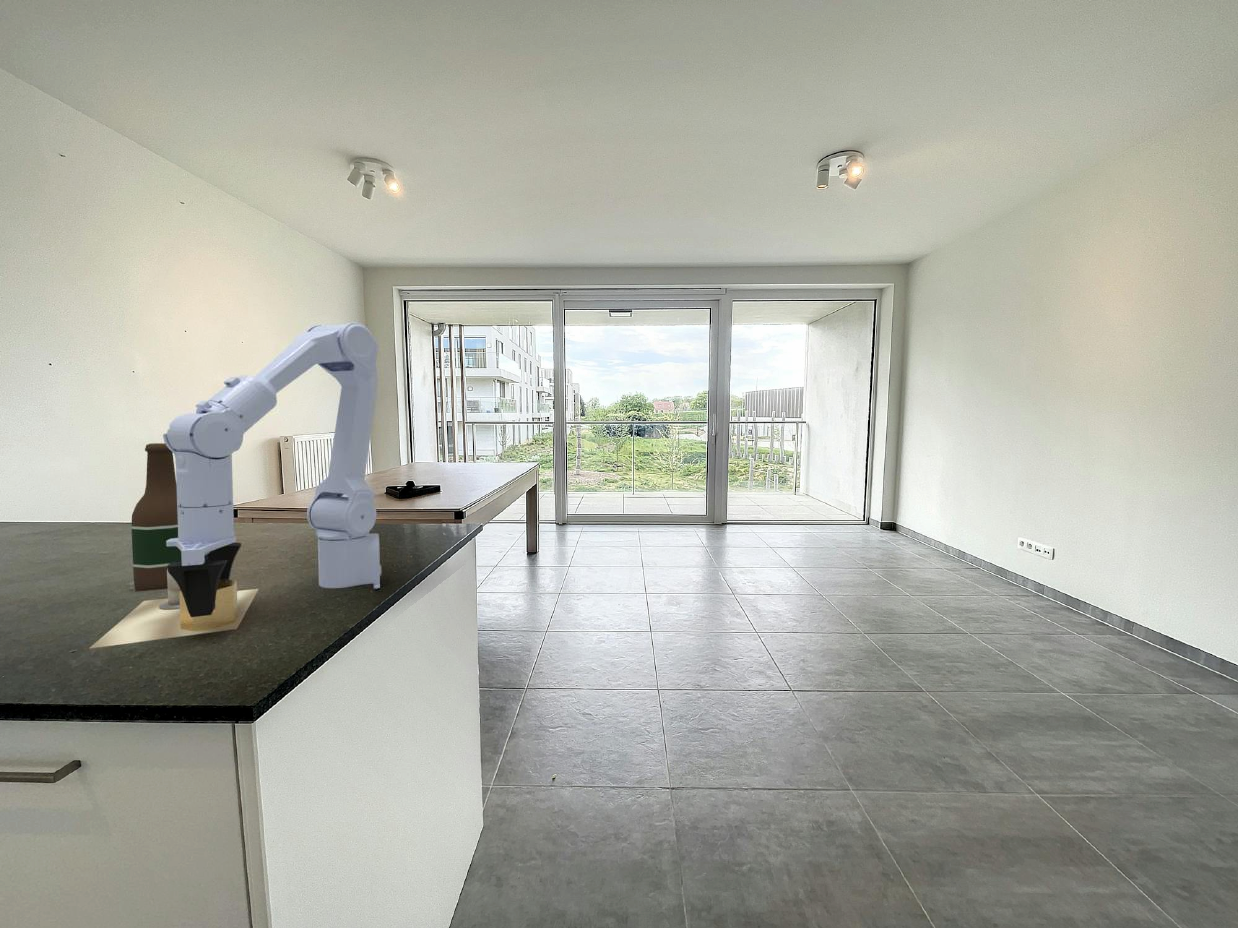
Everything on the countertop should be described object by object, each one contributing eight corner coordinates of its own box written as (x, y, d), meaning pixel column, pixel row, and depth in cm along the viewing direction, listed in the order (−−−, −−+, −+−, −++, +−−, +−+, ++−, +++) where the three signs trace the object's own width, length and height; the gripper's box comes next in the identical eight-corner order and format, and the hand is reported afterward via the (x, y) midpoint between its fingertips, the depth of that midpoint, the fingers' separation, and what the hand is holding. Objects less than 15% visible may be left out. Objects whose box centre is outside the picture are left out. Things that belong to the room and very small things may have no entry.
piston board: (258, 594, 82) (257, 555, 81) (237, 635, 66) (235, 587, 65) (144, 607, 75) (142, 564, 75) (89, 656, 59) (86, 602, 59)
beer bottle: (143, 599, 79) (136, 444, 77) (126, 589, 83) (119, 443, 81) (204, 586, 85) (199, 444, 84) (185, 578, 89) (180, 442, 88)
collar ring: (240, 612, 72) (239, 577, 71) (231, 626, 67) (230, 588, 66) (189, 618, 69) (187, 582, 69) (176, 633, 64) (175, 594, 64)
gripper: (182, 498, 71) (185, 593, 72) (146, 514, 58) (150, 629, 59) (244, 496, 74) (246, 587, 75) (222, 511, 62) (225, 620, 63)
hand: (209, 605), depth 68 cm, fingers open, 7 cm apart
